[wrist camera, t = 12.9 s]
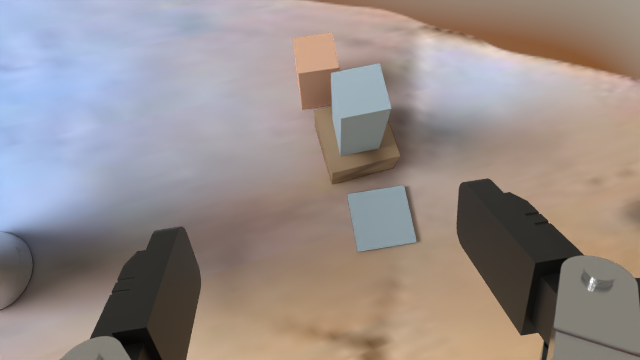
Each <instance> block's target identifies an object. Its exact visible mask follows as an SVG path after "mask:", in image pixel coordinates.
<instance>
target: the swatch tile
mask: <svg viewBox="0 0 640 360" xmlns="http://www.w3.org/2000/svg"><path fill="white" fill-rule="evenodd" d="M347 197H348V202H349V208H350V213H351V218H352V224H353V229H354V235H355V240H356V246H357V251H358V252H362V251H368V250H374V249H380V248H386V247H392V246H398V245H405V244H411V243H416V242H417V241H416V236H415V232H414V227H413V223H412V218H411V214H410V209H409V205H408V200H407V196H406V192H405V187H404V185H402V186H395V187H389V188H383V189H376V190H370V191H364V192H357V193H351V194H347Z"/></svg>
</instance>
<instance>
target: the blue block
mask: <svg viewBox="0 0 640 360" xmlns="http://www.w3.org/2000/svg"><path fill="white" fill-rule="evenodd" d="M331 93H332V120H333V125H334V129H335V134H336V139H337V143H338V148H339V152H340V156H344V155H349V154H354V153H359V152H364V151H369V150H374V149H379V147H380V144H381V141H382V137H383V134H384V131H385V128H386V125H387V121H388V118H389V115H390V112H391V105H390V101H389V97H388V93H387V89H386V85H385V81H384V78H383V74H382V70H381V66H380V63H378V64H373V65H368V66H363V67H358V68H353V69H348V70H343V71H338V72H333V73H331Z"/></svg>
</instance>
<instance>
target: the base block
mask: <svg viewBox="0 0 640 360" xmlns="http://www.w3.org/2000/svg"><path fill="white" fill-rule="evenodd" d="M314 116H315V128H316V131H317V135H318V138H319V142H320V145H321V149H322V152H323V156H324V159H325V162H326V166H327V169H328V173H329V176H330V180H331V183H332V184H335V183H339V182H342V181H346V180H350V179H354V178H357V177H361V176H365V175H369V174H373V173H376V172H380V171H384V170H388V169H391V168H394V166H395V164H396V162H397V161H398V159H399V157H400V153H399V150H398V147H397V144H396V141H395V138H394V135H393V133H392V130H391V127H390V124H389V121H387V125H386V128H385V131H384V134H383V137H382V141H381V144H380V147H379V149H374V150H369V151H364V152H359V153H354V154H349V155H344V156H340V152H339V148H338V143H337V139H336V134H335V129H334V125H333V120H332V106H330V107H326V108H322V109H318V110H314Z"/></svg>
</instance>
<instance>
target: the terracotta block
mask: <svg viewBox="0 0 640 360" xmlns="http://www.w3.org/2000/svg"><path fill="white" fill-rule="evenodd" d="M293 46H294V54H295V62H296V71H297V79H298V85H299V91H300V98H301V104H302V110H303V109H310V108H316V107H323V106H330V105H332V93H331V73H333V72H338V71H339V65H338V60H337V54H336V49H335V44H334V39H333V34H332V33H325V34H318V35H311V36H304V37H297V38H293Z"/></svg>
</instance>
